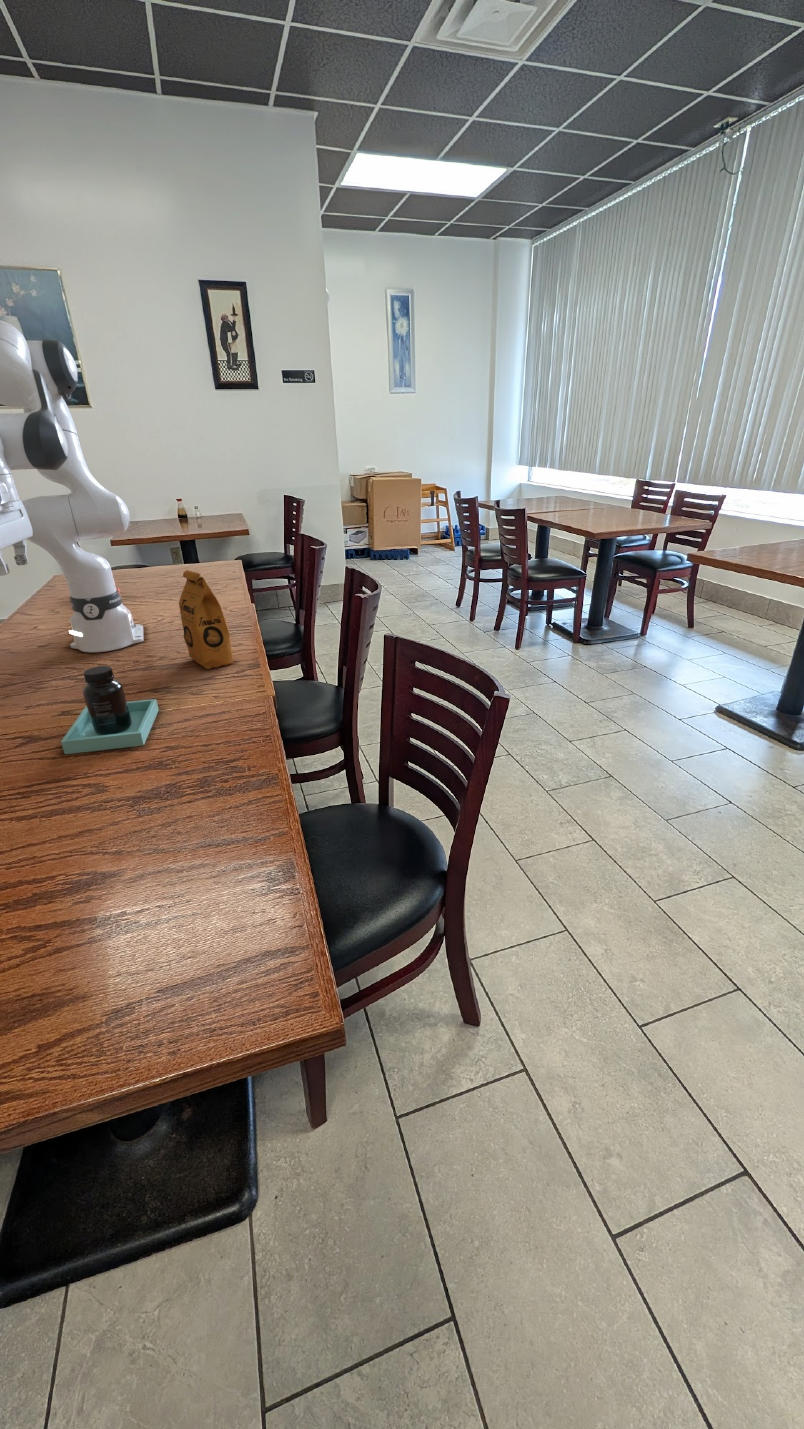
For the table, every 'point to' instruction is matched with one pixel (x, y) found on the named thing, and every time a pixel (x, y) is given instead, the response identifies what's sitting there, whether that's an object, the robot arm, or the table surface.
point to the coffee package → (204, 623)
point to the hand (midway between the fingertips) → (13, 569)
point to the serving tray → (88, 740)
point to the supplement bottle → (106, 701)
